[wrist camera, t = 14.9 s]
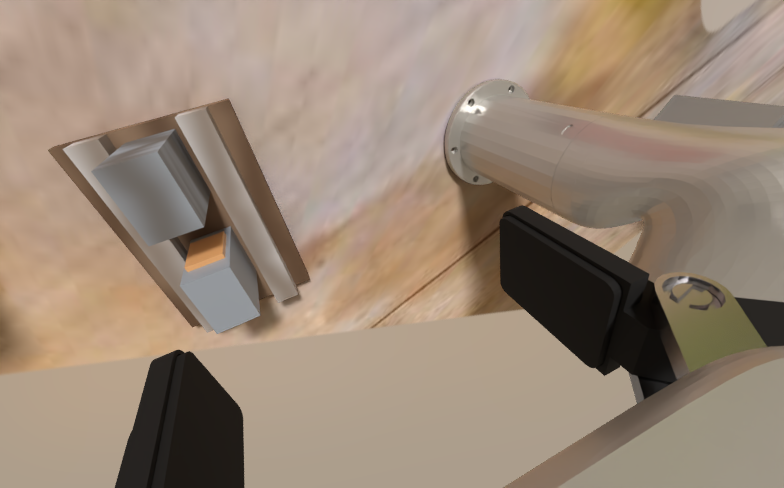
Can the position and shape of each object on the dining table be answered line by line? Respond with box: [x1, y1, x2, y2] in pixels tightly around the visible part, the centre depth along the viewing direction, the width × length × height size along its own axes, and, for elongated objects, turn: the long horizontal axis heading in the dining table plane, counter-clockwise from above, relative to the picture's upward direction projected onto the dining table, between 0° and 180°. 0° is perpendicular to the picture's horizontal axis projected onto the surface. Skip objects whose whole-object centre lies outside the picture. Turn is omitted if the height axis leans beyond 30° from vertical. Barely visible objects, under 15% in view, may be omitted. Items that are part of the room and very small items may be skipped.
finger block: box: [180, 226, 260, 334], centre depth 32 cm, size 4×6×8 cm, turn 14°
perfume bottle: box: [654, 95, 784, 128], centre depth 47 cm, size 7×7×18 cm
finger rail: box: [48, 99, 310, 332], centre depth 30 cm, size 14×21×9 cm, turn 13°
